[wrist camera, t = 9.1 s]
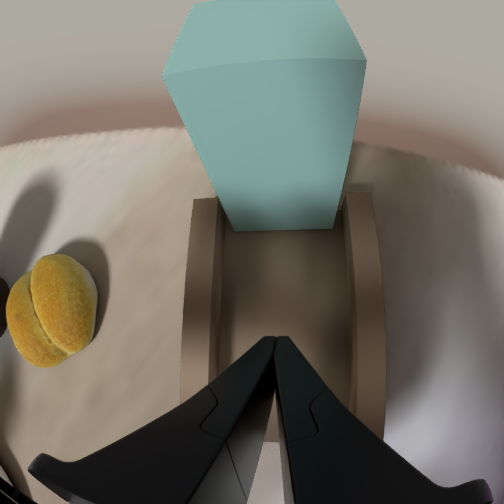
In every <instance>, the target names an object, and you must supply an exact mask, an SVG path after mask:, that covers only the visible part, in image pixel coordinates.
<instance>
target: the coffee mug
mask: <svg viewBox="0 0 504 504" xmlns="http://www.w3.org/2000/svg"><path fill="white" fill-rule="evenodd" d="M9 293H10V292H9V288H8V285H7V283H6V282H5V280H4V279H2V278H0V337H1V336H2V335H3V333H4V332H5V329H6V327H7V318H6V304H7V301H8V297H9Z"/></svg>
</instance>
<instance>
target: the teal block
mask: <svg viewBox="0 0 504 504" xmlns="http://www.w3.org/2000/svg"><path fill="white" fill-rule="evenodd" d="M366 61H367V60H366V58H365V56H364V53H363V51H362V49H361V47H360V45H359V43H358V41H357V39H356V37H355V35H354V33H353V32H352V30H351V28H350V26H349V24H348V22H347V20H346V18H345V17H344V15H343V13H342V12H341V10H340V8H339V6H338V5H337V3H336V1H335V0H214V1H209V2H203V3H198V4H194V5H193V7H192V9H191V11H190V13H189V15H188V17H187V19H186V21H185V23H184V25H183V27H182V29H181V31H180V34H179V36H178V38H177V40H176V42H175V45H174V47H173V49H172V52H171V54H170V57H169V59H168V61H167V64H166V66H165V69H164V71H163V74H162V77H163V80H164V82H165V84H166V86H167V88H168V91H169V92H170V95H171V97H172V99H173V101H174V103H175V106H176V108H177V110H178V112H179V114H180V116H181V118H182V121H183V123H184V125H185V127H186V129H187V131H188V133H189V136H190V138H191V140H192V142H193V144H194V146H195V148H196V150H197V153H198V155H199V157H200V159H201V161H202V163H203V165H204V167H205V170H206V172H207V174H208V176H209V178H210V180H211V182H212V184H213V187H214V189H215V191H216V193H217V195H218V197H219V199H220V201H221V203H222V206H223V208H224V210H225V212H226V214H227V216H228V218H229V220H230V222H231V225H232V227H233V229H234V231H235V232H241V231H269V230H301V229H332V228H333V224H334V220H335V216H336V212H337V208H338V204H339V200H340V196H341V192H342V187H343V183H344V179H345V174H346V170H347V166H348V161H349V156H350V152H351V147H352V142H353V137H354V132H355V126H356V122H357V116H358V111H359V106H360V100H361V94H362V87H363V82H364V76H365V69H366Z"/></svg>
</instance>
